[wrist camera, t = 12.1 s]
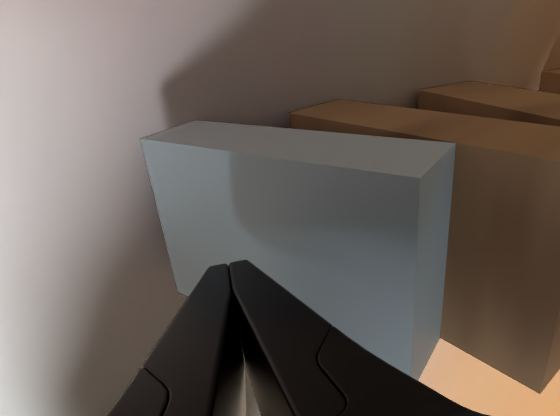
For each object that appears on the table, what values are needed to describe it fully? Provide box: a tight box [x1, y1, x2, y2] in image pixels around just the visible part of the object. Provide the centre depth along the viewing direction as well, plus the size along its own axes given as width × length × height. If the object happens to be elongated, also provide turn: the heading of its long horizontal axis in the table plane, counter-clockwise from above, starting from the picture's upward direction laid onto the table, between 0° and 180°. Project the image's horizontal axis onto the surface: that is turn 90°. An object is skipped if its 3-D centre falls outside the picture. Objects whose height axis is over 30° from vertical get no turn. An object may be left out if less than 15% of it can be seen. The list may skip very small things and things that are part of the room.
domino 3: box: [289, 99, 560, 394], centre depth 11 cm, size 5×2×8 cm, turn 5°
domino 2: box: [418, 81, 560, 126], centre depth 11 cm, size 5×2×8 cm, turn 5°
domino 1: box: [140, 120, 456, 381], centre depth 11 cm, size 5×2×8 cm
